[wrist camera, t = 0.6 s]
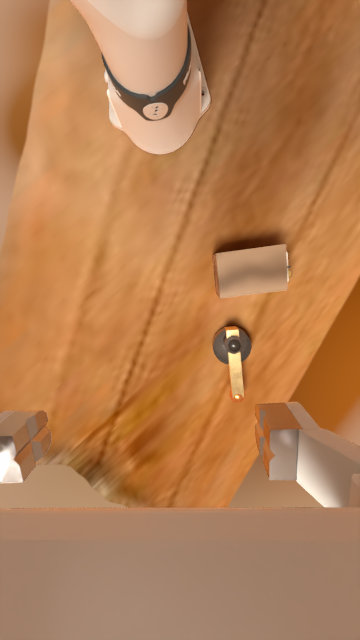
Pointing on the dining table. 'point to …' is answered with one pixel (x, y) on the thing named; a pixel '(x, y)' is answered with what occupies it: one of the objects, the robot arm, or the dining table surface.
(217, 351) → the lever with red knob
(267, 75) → the dining table surface
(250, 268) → the brown box
